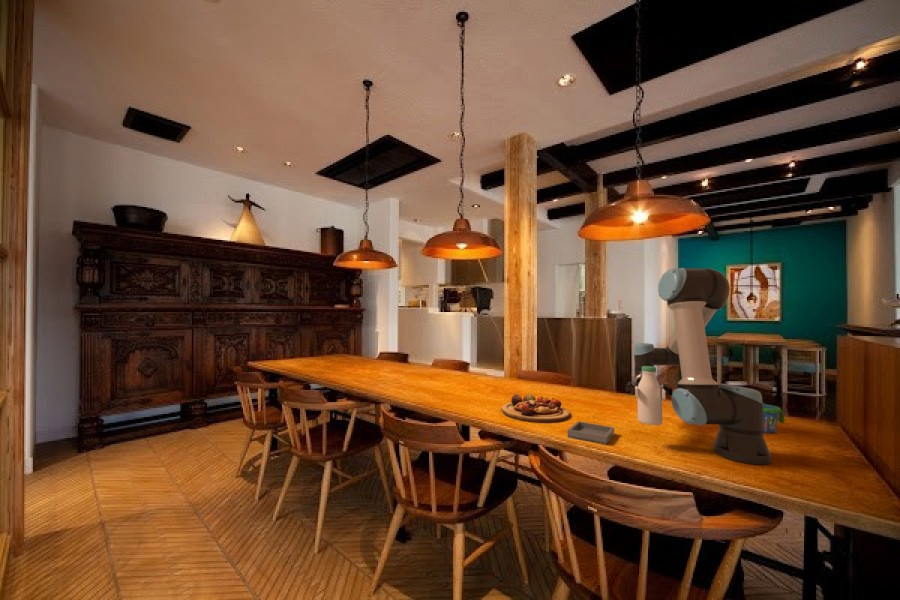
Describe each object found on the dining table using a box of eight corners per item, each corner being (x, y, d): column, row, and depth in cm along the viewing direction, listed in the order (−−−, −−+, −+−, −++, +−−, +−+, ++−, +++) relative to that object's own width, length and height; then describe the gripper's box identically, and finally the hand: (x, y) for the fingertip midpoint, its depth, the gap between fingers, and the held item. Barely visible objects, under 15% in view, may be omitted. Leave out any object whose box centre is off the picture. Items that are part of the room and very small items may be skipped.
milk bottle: (667, 426, 125) (665, 368, 126) (644, 425, 125) (643, 367, 126) (654, 419, 132) (653, 365, 133) (633, 419, 133) (632, 365, 134)
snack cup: (774, 427, 152) (773, 403, 152) (795, 435, 142) (794, 409, 142) (734, 426, 154) (734, 402, 154) (752, 434, 143) (752, 408, 144)
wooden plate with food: (548, 428, 149) (548, 408, 149) (487, 412, 171) (488, 395, 171) (581, 415, 172) (581, 397, 172) (524, 402, 194) (524, 387, 194)
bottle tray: (614, 434, 141) (614, 427, 141) (606, 445, 129) (606, 437, 130) (577, 427, 149) (577, 421, 149) (567, 437, 137) (567, 429, 138)
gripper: (675, 395, 141) (685, 408, 120) (618, 390, 150) (618, 401, 129) (675, 376, 141) (684, 385, 121) (617, 372, 150) (617, 380, 129)
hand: (650, 394), depth 125 cm, fingers closed on milk bottle, 8 cm apart
